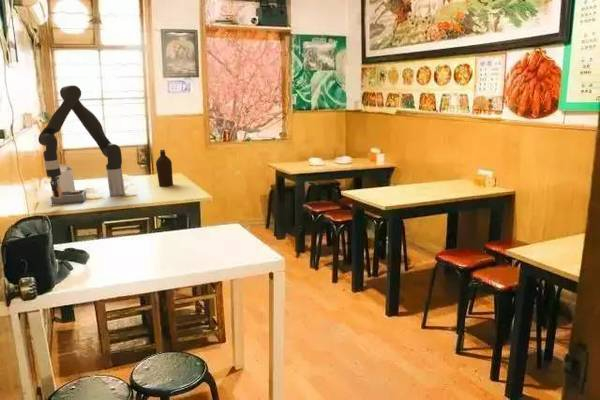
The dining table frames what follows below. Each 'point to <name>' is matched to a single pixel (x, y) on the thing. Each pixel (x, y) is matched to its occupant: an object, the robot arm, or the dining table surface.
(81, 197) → the tote
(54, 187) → the terracotta cylinder
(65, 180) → the milk carton
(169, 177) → the olive oil
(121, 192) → the robot arm
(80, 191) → the walnut cube
